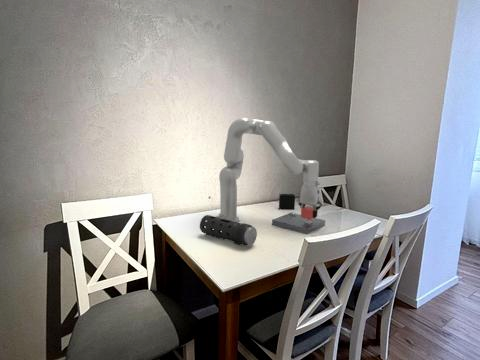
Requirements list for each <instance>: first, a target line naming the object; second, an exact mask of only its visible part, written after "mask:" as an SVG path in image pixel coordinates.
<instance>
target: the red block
mask: <svg viewBox="0 0 480 360" xmlns="http://www.w3.org/2000/svg"><path fill="white" fill-rule="evenodd" d="M300 209H301V210H300V215H301V217H303V218H307V219H314V218H313V211H314V208H313V206H310V205H309V206H308V205H305V207H303V208H300Z"/></svg>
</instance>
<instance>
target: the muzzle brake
mask: <svg viewBox="0 0 480 360" xmlns="http://www.w3.org/2000/svg"><path fill="white" fill-rule="evenodd" d="M199 230H200V232H201V233H203V234H205V235H207V236H209V237H213V238H216V239H220V240H224V241H225V240H226V241H229V242H233V244H235V245H237V246H238V245H239V246H240V245H242V246H244V247H247V246H253V245H254V243H255V242H256V241H257V238H258V237H257V236H258V231H257V229H256V228H255V227H254V226H253V225H251V224H248V223H244V222H243V223H241V222H239V221H238V222H234V221H230V220H226V219H222V218H218V217H216V216H214V215H210V214H209V215H208V214H206V215H204V216H203V217H202V218H201V219H200V221H199Z"/></svg>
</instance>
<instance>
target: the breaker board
mask: <svg viewBox="0 0 480 360" xmlns="http://www.w3.org/2000/svg"><path fill="white" fill-rule="evenodd" d="M305 219H307V218H303V217H301V213H300V214H299V213H295V212H290V213H287V214H284V215H281V216H279V217H278V216H277V217H276V218H273V219H271V226H275V227H279V228H283V229H286V230H290V231H293V232H297V233H301V234H304V235H310V234H311V233H313V232H315V231H317V230H319V229H320V228H322V227H326V219H321V218H317V217H316V218H314V219H312V223H310V224H309V223H305Z"/></svg>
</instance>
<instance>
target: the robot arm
mask: <svg viewBox="0 0 480 360" xmlns="http://www.w3.org/2000/svg"><path fill="white" fill-rule="evenodd" d="M247 134H250V135H258V136H261V137H262V138H264V140H265V141H266V142H267V144H268V145H269V147H270V148H271V149H272V151H273V152H274V153H275V154H276V156H277V157H278V159H279V161H280V162H281V163H282V164H283V166H284V167H285V169H287V170H288V172H289V174H291V175H294V176H298V175H301V174H302V173H303V181H302V183H303V184H301V185H302V186H301V189H300V196H299V197H298V198H297V199H295V202H297V204H298V206H299V207H300V209H301V208H303V207H306V206H308V205H309V206H312V207H313V208H314V211H313V218H317V217H318V211H319V210H320V209H321V208H322V207H324V203H323V202H322V201H321V190H320V186H321V182H319V167H320V166H319V165H320V164H319V161H318V160H315V159H313V160H312V159H307V160H305V159H299V158H298V157H297V156H296V155H295V153H294V152H293V150H292V149H291V147H290V145H289V142H288V141H287V139H286V138H285V137H284V135H283V134H282V133H281V132H280V131H279V129H278V128H277V126H276V124H275V122H273V121H271V120H263V119H262V120H261V119H255V118H249V117H241V118H237V119H235V120H234V121H233V122H231V123H230V125H229V128H228V130H227V137H226V142H225V148H224V152H223V153H224V154H223V159H224V161H225V164H226V166H224V167H223V168H222V169H221V170H220V172H219V175H218V176H219V177H218V179H219V188H220V189H219V191H220V194H219V195H220V198H219V199H220V200H219V201H220V202H219V203H220V205H219V207H220V213H218V215H217V216H215V217H218V218H222V219H226V220H230V221H234V222H238V223H239V222H240V217H239V216H237V215H238V210H237V209H238V185H237V180H238V179H239V178H240V177H241V175H242V170H243V164H244V151H243V149H242V143H243V137H244V135H247Z"/></svg>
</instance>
